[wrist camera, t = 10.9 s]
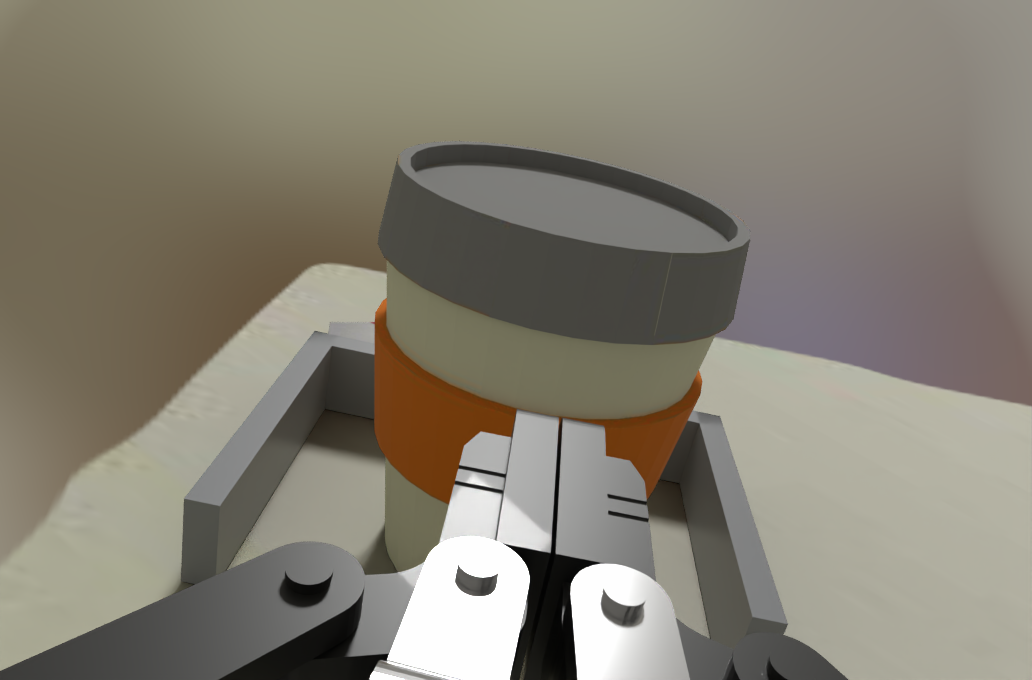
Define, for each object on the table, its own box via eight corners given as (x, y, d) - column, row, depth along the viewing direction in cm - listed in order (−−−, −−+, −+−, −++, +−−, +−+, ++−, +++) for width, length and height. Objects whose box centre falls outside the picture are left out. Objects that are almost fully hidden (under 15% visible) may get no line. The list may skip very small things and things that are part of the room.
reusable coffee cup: (459, 428, 41) (517, 132, 35) (687, 545, 36) (800, 221, 30) (268, 539, 31) (304, 150, 25) (547, 726, 26) (676, 290, 20)
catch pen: (755, 700, 28) (787, 624, 27) (180, 581, 28) (184, 498, 27) (699, 475, 42) (719, 416, 40) (308, 392, 41) (314, 330, 40)
